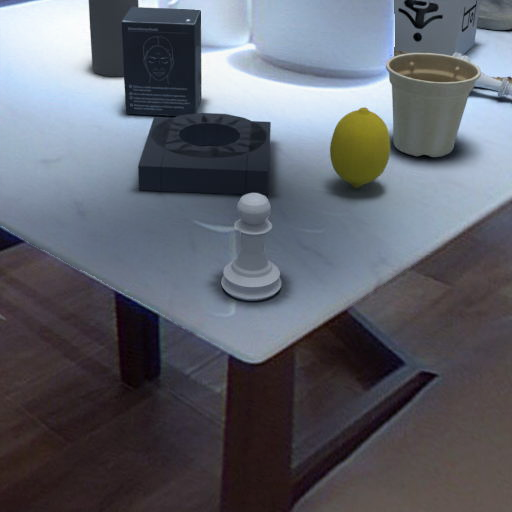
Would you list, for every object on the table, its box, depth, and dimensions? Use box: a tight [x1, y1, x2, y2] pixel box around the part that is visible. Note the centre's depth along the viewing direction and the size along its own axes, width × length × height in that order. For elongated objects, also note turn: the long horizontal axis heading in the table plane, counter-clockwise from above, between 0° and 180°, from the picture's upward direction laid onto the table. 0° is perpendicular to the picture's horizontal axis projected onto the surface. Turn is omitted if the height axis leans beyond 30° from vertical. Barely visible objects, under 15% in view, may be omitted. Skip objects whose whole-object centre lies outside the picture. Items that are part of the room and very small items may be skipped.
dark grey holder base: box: [137, 112, 272, 196], centre depth 94 cm, size 12×14×2 cm
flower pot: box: [385, 53, 482, 158], centre depth 98 cm, size 9×9×9 cm
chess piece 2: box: [453, 52, 512, 98], centre depth 113 cm, size 4×4×10 cm
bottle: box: [88, 0, 140, 77], centre depth 114 cm, size 6×6×15 cm
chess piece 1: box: [220, 193, 282, 302], centre depth 73 cm, size 5×5×8 cm
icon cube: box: [394, 0, 481, 56], centre depth 126 cm, size 10×10×10 cm
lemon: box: [329, 107, 391, 189], centre depth 89 cm, size 6×6×8 cm
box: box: [122, 6, 203, 117], centre depth 105 cm, size 8×6×11 cm
